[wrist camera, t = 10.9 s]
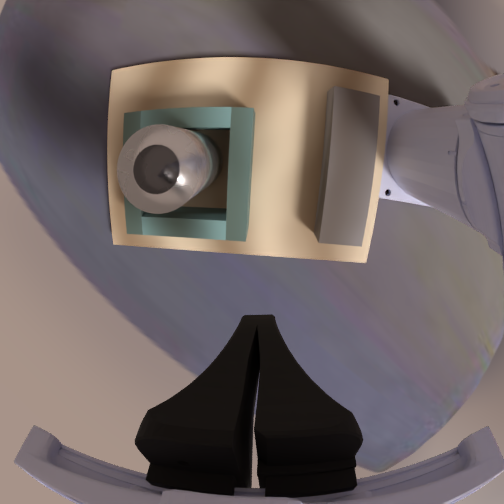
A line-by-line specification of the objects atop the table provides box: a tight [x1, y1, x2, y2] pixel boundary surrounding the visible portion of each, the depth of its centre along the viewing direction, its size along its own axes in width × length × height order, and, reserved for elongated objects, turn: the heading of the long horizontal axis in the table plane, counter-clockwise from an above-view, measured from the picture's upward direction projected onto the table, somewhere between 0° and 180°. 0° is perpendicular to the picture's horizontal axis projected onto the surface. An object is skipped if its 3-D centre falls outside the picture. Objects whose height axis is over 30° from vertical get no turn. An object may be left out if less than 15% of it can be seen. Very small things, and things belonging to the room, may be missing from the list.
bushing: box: [117, 124, 223, 214], centre depth 14 cm, size 4×4×7 cm
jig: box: [107, 57, 389, 263], centre depth 16 cm, size 20×14×4 cm
